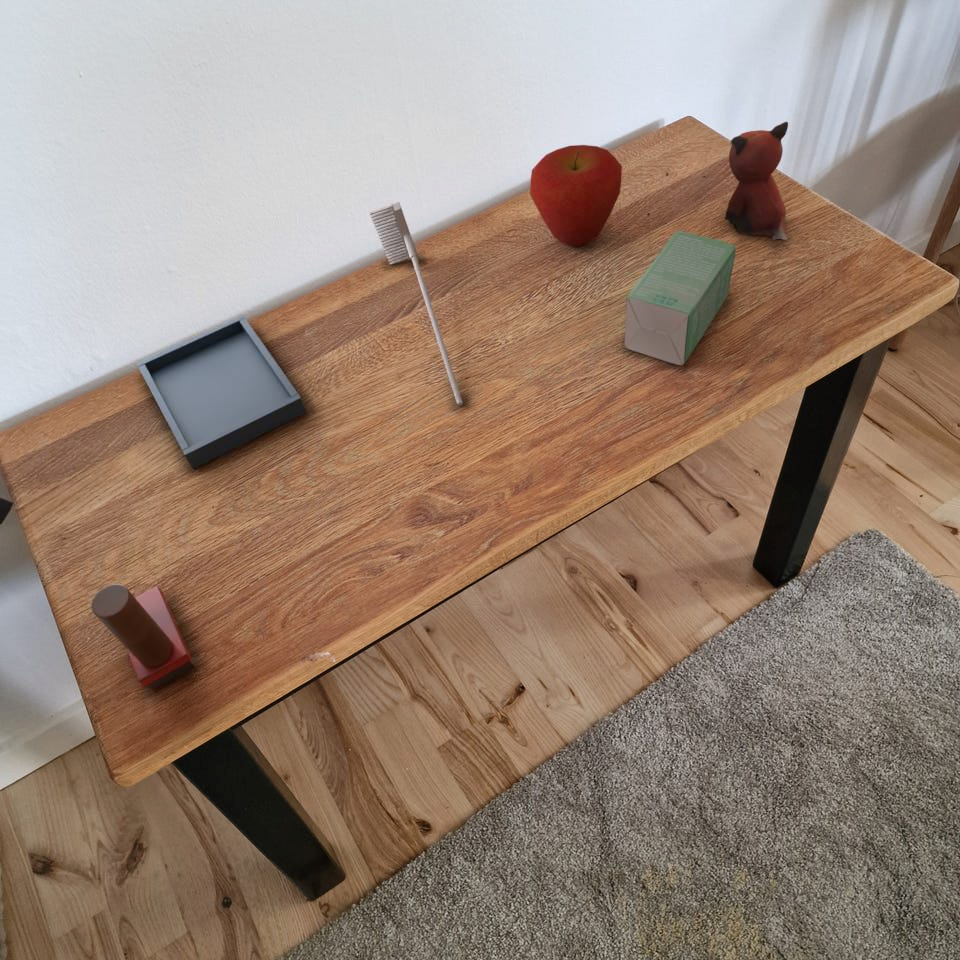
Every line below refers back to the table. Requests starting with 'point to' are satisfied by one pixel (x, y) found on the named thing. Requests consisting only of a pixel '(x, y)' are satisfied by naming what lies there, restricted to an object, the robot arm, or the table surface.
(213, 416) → the tray
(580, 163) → the apple
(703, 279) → the box
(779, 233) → the stuffed fox
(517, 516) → the table surface
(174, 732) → the table surface
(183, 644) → the brown cylinder on base
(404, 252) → the brush
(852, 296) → the table surface
